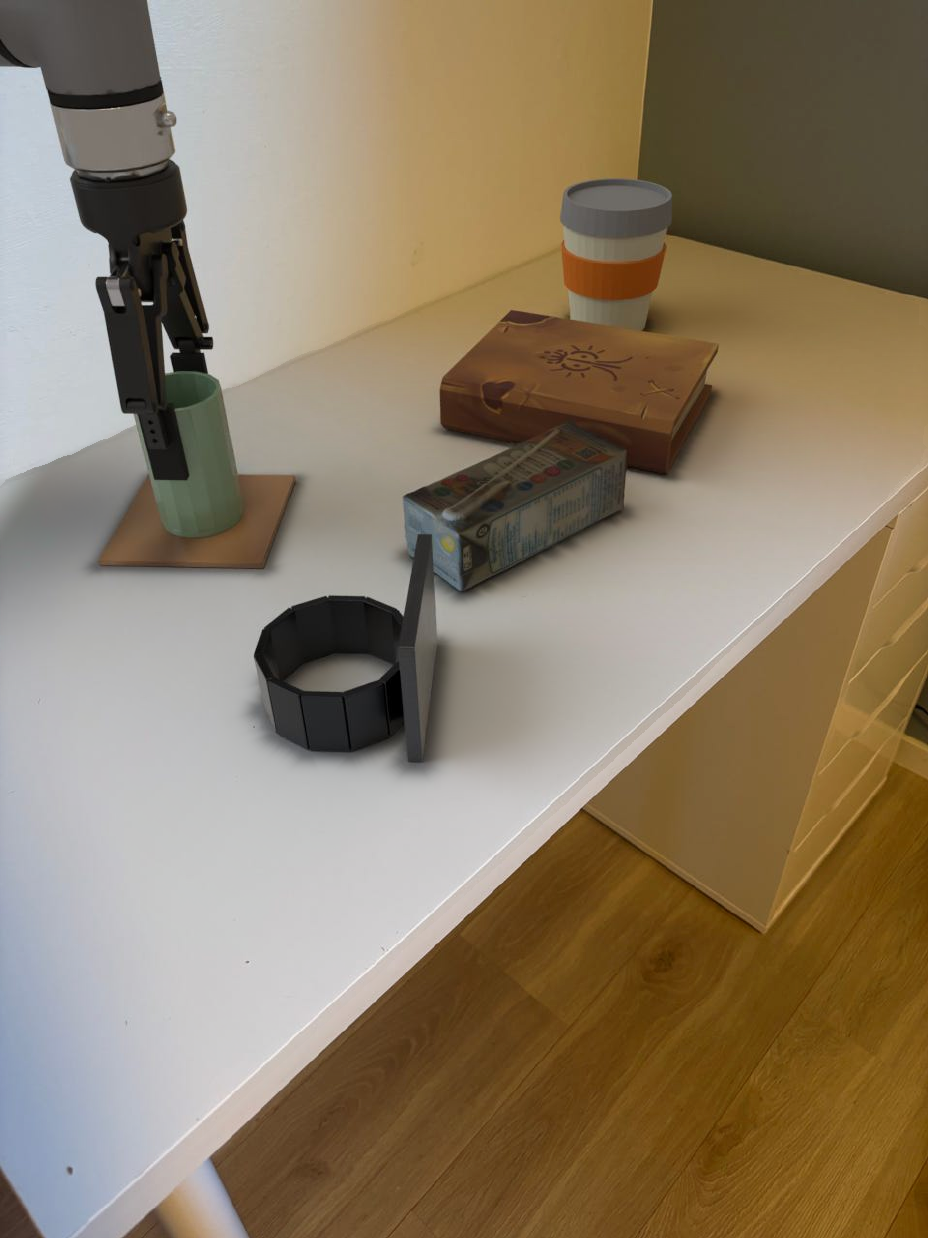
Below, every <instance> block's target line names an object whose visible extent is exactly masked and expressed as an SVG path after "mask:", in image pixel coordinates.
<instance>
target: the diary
mask: <svg viewBox="0 0 928 1238" xmlns="http://www.w3.org/2000/svg"><path fill="white" fill-rule="evenodd" d="M719 347H720V343H718V342H712V341H705V340H699V339H694V338H687V337H680V336H675V335H669V334H662V333H656V332H650V331H644V330H642V331H638V330H632V329H626V328H620V327H614V326H608V325H601V324H595V323H589V322H583V321H577V320H571V319H570V318H565V317H557V316H551V315H546V314H539V313H533V312H526V311H523V310H522V311H521V310H515V309H511V310H509V311H508V312H507V313H506V314H505V315H504V316H503V317H502V318H501V319H500V320H499V322H497V323H496V324H495V325H494V326H493V327H492V328H491V329H490V330H489V331H488V332H487V333H486V334H485V335H484V336H483V337H482V338H481V339H480V340H478V341H477V342H476V344H475V345H474V346H473V347H472V348H470V350H469V351H468V352H466V354H465V355H463V357H462V358H461V359H459V360H458V361H457V362H456V363H455V364H454V365H453V366H452V367H451V368H450V369H449V370H448V371H447V372H446V373H445V374H444V375H443V376H442V379H441V382H440V385H439V418H440V420H439V421H440V422H439V424H440V425H441V426H442V428H443V429H447V430H452V431H456V432H459V433H460V432H461V433H466V434H469V435H470V434H471V435H474V436H475V435H476V436H480V437H484V438H490V439H494V440H499V441H504V442H507V443H514V444H517V445H518V444H520V443H522V442H524V441H527V440H529V439H531V438H533V437H535V436H538V435H540V434H542V433H544V432H546V431H548V430H550V429H552V428H555V427H557V426H560V425H562V424H564V423H566V422H568V421H570V422H571V423H573V424H575V425H578V426H579V427H581V428H582V429H584V430H587V431H589V432H592V433H594V434H596V435H599V436H600V437H602V438H603V439H604V440H607V441H609V442H611V443H613V444H615V445H618V446H620V447H623V448H625V449H626V451H627V464H626V467H629V468H633V469H638V470H642V471H643V470H644V471H648V472H652V473H657V474H662V475H668V473H669V471H670V469H671V467H672V466H673V464H674V462H675V460H676V458H677V457H678V455H679V453H680V451H681V449H682V447H683V446H684V444H685V442H686V441H687V438H688V436H689V434H691V433H690V432H691V431H692V429H693V427H694V425H695V423H696V422H697V420H698V418H699V416H700V415H701V413H702V412H703V411H702V410H703V409H704V407H705V405H706V403H707V401H708V400H709V398H710V396H711V394H712V390H713V385H712V384H707V383H706V378H707V374H708V373H707V372H708V370H709V368H710V366H711V364H712V363H713V362H714V359H715V357H716V356H717V354H718V353H719Z"/></svg>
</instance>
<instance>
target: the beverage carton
mask: <svg viewBox="0 0 928 1238" xmlns="http://www.w3.org/2000/svg"><path fill="white" fill-rule="evenodd" d="M626 464H627V451H626V449H625V448H623V447H620V446H618V445H615V444H613V443H611V442H609V441H607V440H604V439H603V438H602V437H600V436H599V435H596V434H594V433H592V432H589V431H587V430H584V429H582V428H581V427H579V426H578V425H575V424H573V423H571V422H570V421H568V422H566V423H564V424H562V425H560V426H557V427H555V428H552V429H550V430H548V431H546V432H544V433H542V434H540V435H538V436H535V437H533V438H531V439H529V440H527V441H524V442H522V443H520V444H518V443H517V444H516V445H514V446H512V447H510V448H507V449H505V450H503V451H501V452H499V453H496V454H494V455H492V456H490V457H489V458H486V459H483V460H481V461H478V462H477V463H475V464H472V465H470V466H468V467H466V468H464V469H462V470H459V471H456V472H454V473H452V474H450V475H448V476H445V477H444V478H441V479H439V480H437V481H435V482H433V483H431V484H429V485H424V486H421V487H420V488H418V489H416V490H414V491H411V492H408V493H406V494H404V495H403V496H402V506H403V513H404V516H403V517H404V531H405V535H404V536H405V540H406V546H407V553H408V555H409V556H410V557H411V558H412V559H414V553H415V547H416V541H417V535H418V534H432V546H433V565H434V574H436V575H437V576H439V577H440V578H442V579H443V580H445V581H446V582H447V583H449V584H450V585H451V586H452V587H453V588H455V589H457V591H459V592H464V591H466V590H468V589H470V588H472V587H474V586H476V585H478V584H479V583H482V582H483V581H485V580H487V579H490V578H492V577H493V576H495V575H498V574H500V573H502V572H504V571H505V570H508V569H509V568H513V567H514V566H516V565H517V564H519V563H521V562H523V561H525V560H526V559H528V558H530V557H532V556H534V555H536V554H538V553H540V552H542V551H543V550H546V549H549V547H551V546H553V545H555V544H557V543H558V542H560V541H563V540H565V539H566V538H568V537H570V536H572V535H574V534H576V533H577V532H579V531H582V530H584V529H585V528H587V527H589V526H591V525H593V524H595V523H596V522H599V521H600V520H602V519H605V518H607V517H609V516H611V515H614V514H615V513H617V512H618V511H620V510H623V509H624V508H625V490H626V489H625V488H626V479H627V478H626V475H627V466H626Z"/></svg>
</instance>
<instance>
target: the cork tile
mask: <svg viewBox="0 0 928 1238" xmlns="http://www.w3.org/2000/svg"><path fill="white" fill-rule="evenodd" d="M238 478H239V484H240V489H241V494H242V499H243V507H244V513H243V516H242V518H241V519H240V520H239V522H238V523H237V524H235V525H234V526H233V527H231V528H230V529H228V530H226V531H224V532H221V533H219V534H215V535H212V536H207V537H199V538H187V537H181V536H177V535H174V534H172V533H170V532H168V531H167V530H166V529H165V528H164V527H163V525H162V522H161V519H160V516H159V512H158V508H157V504H156V500H155V496H154V492H153V488H152V484H151V480H150V476H149V473H148V474H147V476H146V477H145V479H144V481H143V482H142V484H141V486H140V488H139V489H138V491H137V493H136V494H135V495H134V498H133V500H132V501H131V503H130V504H129V506H128V507H127V509H126V511H125V513H124V514H123V516H122V518H121V520H120V521H119V523H118V525H117V526H116V529H114V532H113V533H112V535H111V537H110V538H109V540H108V542H107V544H106V545H105V547H104V549H103V550H102V552H101V554H100V555H99V557H98V559H97V561H98V564H99V565H98V566H123V567H124V566H126V567H127V566H130V567H170V568H171V567H173V568H175V567H176V568H218V569H219V568H222V569H223V568H226V569H230V568H231V569H264V567H265V564H266V562H267V559H268V556H269V554H270V551H271V548H272V545H273V543H274V540H275V538H276V535H277V532H278V529H279V526H280V525H281V521H282V518H283V515H284V512H285V510H286V507H287V504H288V502H289V500H290V497H291V493H292V491H293V488H294V486H295V483H296V475H294V474H242V473H241V474H239V473H238Z"/></svg>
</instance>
